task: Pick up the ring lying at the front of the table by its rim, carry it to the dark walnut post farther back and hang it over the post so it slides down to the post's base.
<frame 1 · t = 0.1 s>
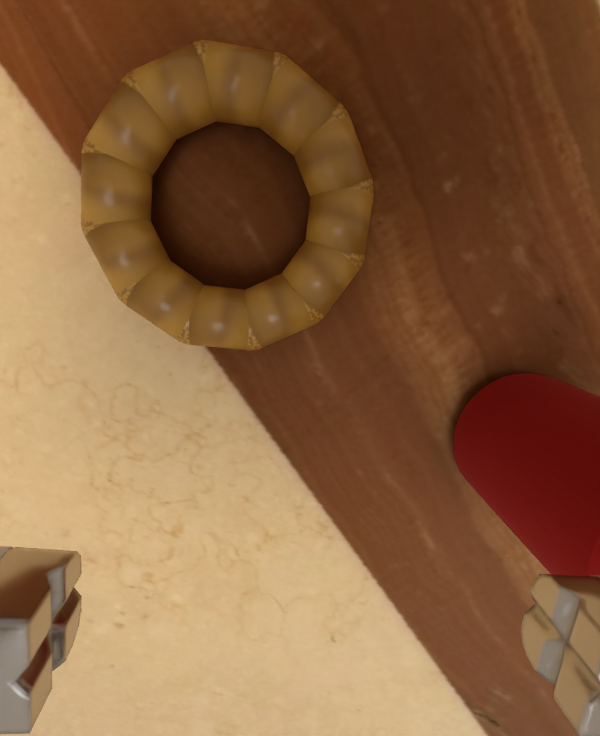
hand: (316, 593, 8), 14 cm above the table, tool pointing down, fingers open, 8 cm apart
beverage can: (506, 429, 23), on the table
ring: (230, 208, 18), point 1 cm above the table
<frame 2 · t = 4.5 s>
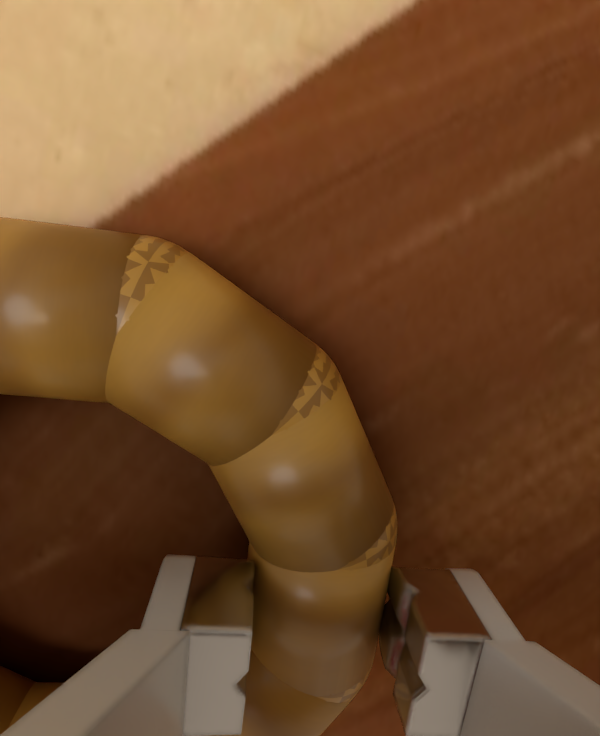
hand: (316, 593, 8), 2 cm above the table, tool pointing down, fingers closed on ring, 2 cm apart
ring: (63, 567, 8), point 1 cm above the table, touching gripper
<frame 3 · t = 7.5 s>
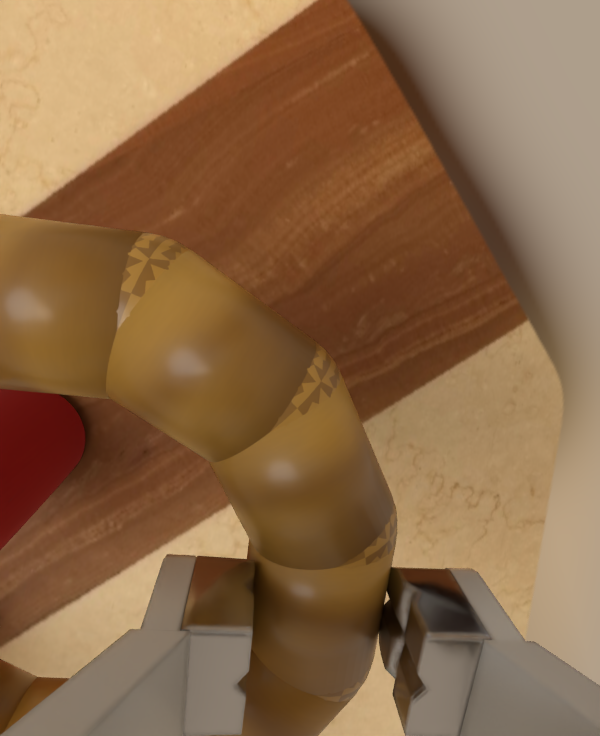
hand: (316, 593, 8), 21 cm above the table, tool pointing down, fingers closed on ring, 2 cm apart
beverage can: (38, 429, 29), on the table
ring: (64, 562, 8), point 21 cm above the table, touching gripper
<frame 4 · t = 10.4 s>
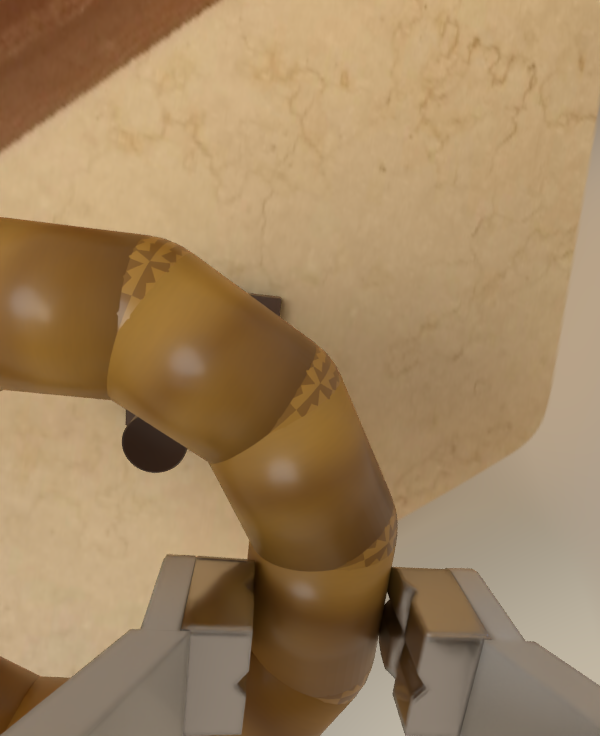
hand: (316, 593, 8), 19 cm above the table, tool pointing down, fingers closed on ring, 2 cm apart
ring: (66, 562, 8), point 18 cm above the table, touching gripper
post: (204, 359, 26), on the table
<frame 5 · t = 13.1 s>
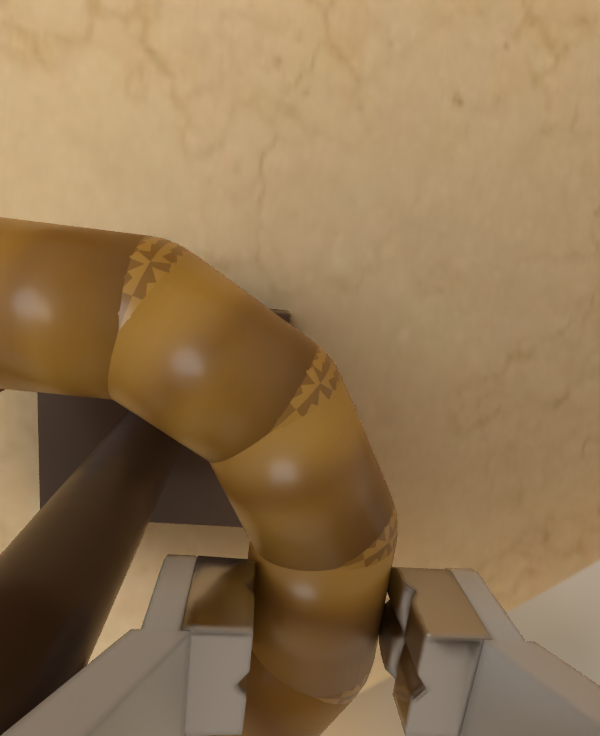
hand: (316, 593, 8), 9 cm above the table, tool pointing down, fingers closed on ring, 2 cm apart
ring: (67, 561, 8), point 8 cm above the table, touching gripper
post: (167, 409, 16), on the table
when the fingers open (10 cm above the table, at t = 16.5 s): ring drops 7 cm, resting on post.
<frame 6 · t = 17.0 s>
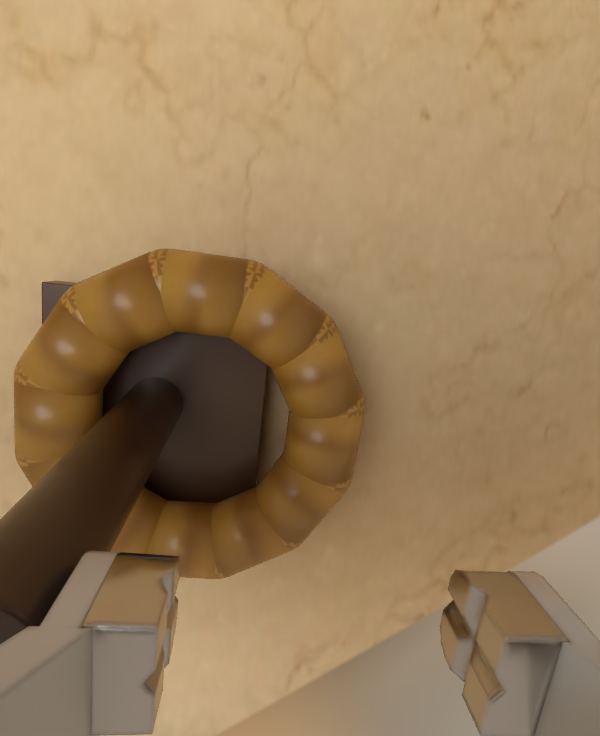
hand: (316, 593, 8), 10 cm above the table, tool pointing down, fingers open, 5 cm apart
ring: (195, 424, 16), point 2 cm above the table, touching post
post: (161, 395, 18), on the table
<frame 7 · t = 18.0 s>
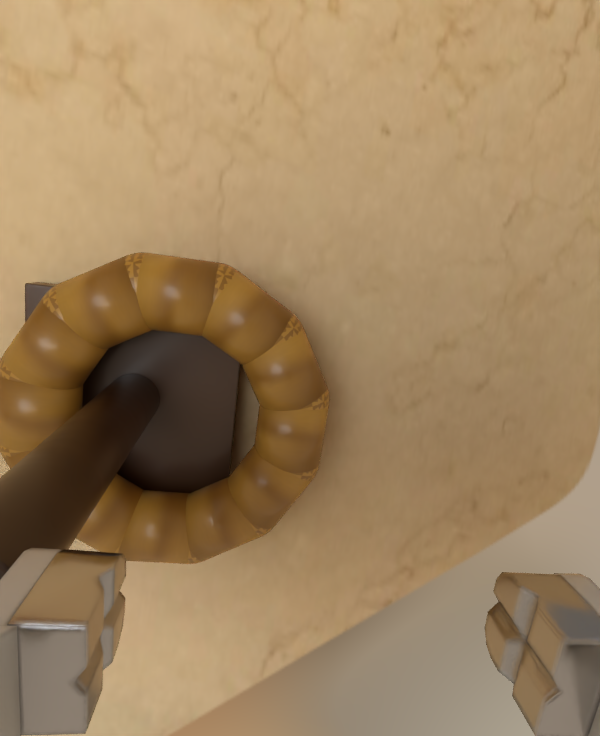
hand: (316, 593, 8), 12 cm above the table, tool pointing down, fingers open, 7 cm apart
ring: (171, 417, 17), point 2 cm above the table, touching post
post: (139, 391, 18), on the table
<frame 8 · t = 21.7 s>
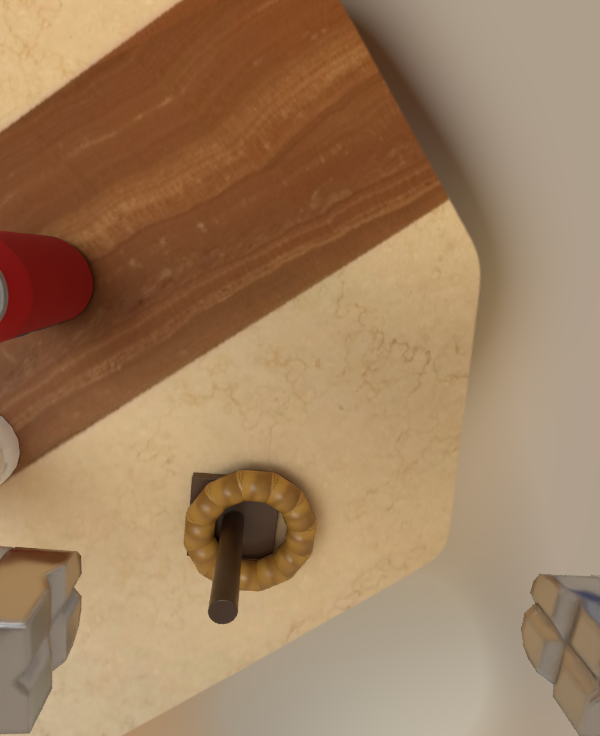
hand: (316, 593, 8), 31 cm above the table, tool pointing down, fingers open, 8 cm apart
beverage can: (54, 279, 36), on the table
ring: (250, 531, 40), point 2 cm above the table, touching post
post: (234, 514, 42), on the table
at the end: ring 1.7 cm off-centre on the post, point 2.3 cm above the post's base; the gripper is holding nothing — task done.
